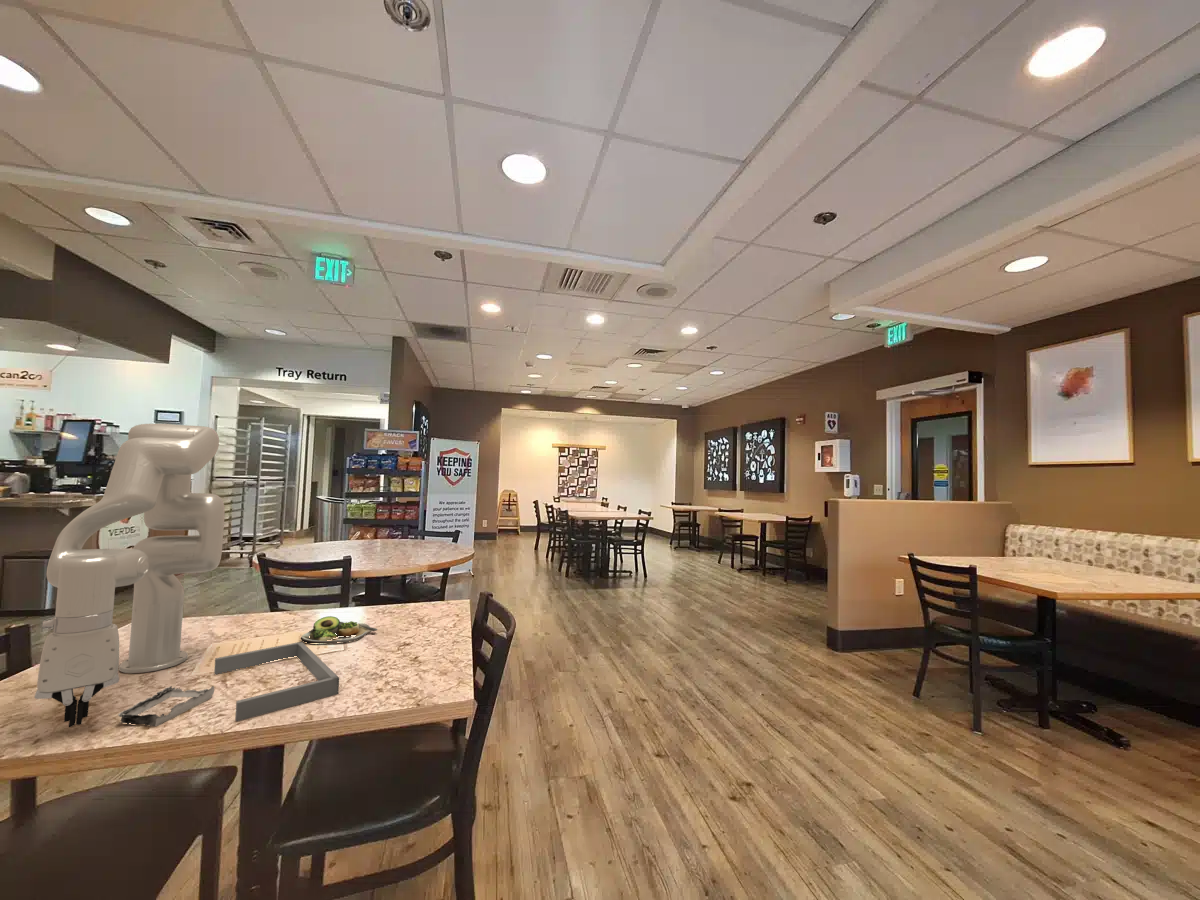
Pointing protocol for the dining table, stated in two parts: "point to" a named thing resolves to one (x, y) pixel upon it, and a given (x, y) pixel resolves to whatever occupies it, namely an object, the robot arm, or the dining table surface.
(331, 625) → the salad plate
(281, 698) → the box
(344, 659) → the dining table surface
